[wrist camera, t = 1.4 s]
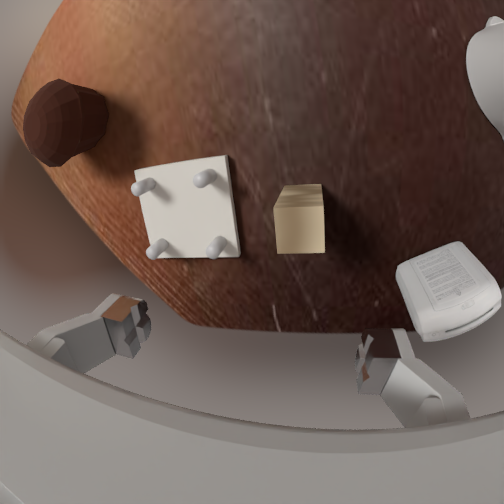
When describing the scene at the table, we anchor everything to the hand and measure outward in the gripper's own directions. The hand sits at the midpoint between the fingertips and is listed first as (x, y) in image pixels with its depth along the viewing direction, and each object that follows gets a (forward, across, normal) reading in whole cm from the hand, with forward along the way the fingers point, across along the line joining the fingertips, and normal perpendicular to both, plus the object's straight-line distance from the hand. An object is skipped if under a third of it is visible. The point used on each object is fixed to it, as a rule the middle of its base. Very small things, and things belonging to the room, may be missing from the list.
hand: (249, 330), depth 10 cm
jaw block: (+23, -2, +1) cm, 23 cm away
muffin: (+24, +28, -10) cm, 38 cm away
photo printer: (+23, -18, +7) cm, 31 cm away
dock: (+24, +12, +3) cm, 27 cm away
